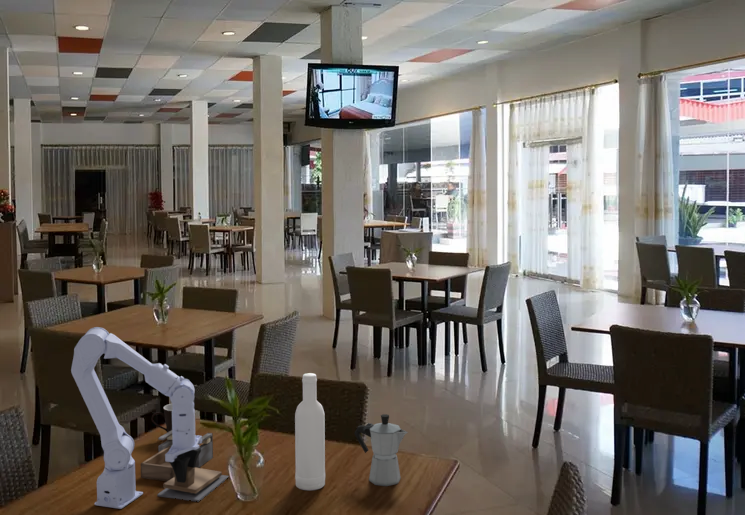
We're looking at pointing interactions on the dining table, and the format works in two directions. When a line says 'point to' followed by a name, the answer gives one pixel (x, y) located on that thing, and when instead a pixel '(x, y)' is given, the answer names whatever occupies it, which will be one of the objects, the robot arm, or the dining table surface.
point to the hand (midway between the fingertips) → (185, 479)
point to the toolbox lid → (193, 480)
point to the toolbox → (162, 469)
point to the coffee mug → (166, 417)
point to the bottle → (310, 438)
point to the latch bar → (202, 442)
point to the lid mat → (192, 496)
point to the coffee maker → (383, 450)
